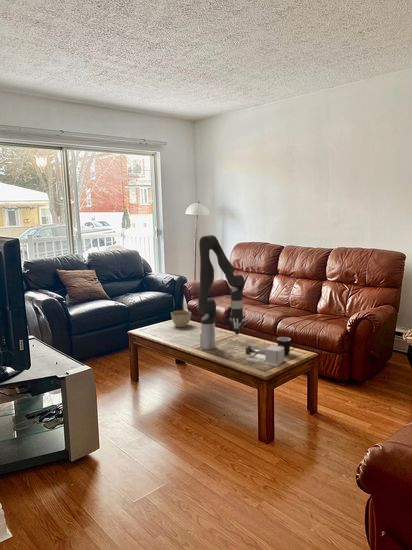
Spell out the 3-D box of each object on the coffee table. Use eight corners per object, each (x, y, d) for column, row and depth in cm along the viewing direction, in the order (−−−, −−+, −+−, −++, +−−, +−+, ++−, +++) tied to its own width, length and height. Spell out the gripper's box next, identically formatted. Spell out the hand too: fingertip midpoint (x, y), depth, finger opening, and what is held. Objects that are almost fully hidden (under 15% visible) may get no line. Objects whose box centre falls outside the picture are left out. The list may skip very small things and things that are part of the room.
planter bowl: (191, 328, 322) (191, 314, 320) (171, 329, 321) (170, 315, 319) (191, 322, 337) (191, 310, 336) (171, 323, 337) (171, 310, 335)
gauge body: (246, 360, 250) (245, 346, 248) (254, 354, 260) (254, 341, 258) (277, 366, 239) (277, 352, 237) (285, 360, 249) (285, 346, 247)
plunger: (243, 357, 250) (243, 348, 250) (249, 353, 258) (249, 344, 257) (265, 361, 243) (265, 352, 242) (270, 356, 250) (270, 348, 249)
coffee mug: (274, 353, 262) (274, 338, 260) (285, 351, 265) (285, 336, 264) (284, 359, 251) (284, 343, 250) (296, 356, 255) (296, 341, 253)
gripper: (224, 307, 255) (225, 334, 257) (243, 309, 248) (244, 337, 250) (230, 304, 261) (230, 331, 264) (249, 306, 254) (249, 333, 257)
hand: (237, 334), depth 257 cm, fingers closed
